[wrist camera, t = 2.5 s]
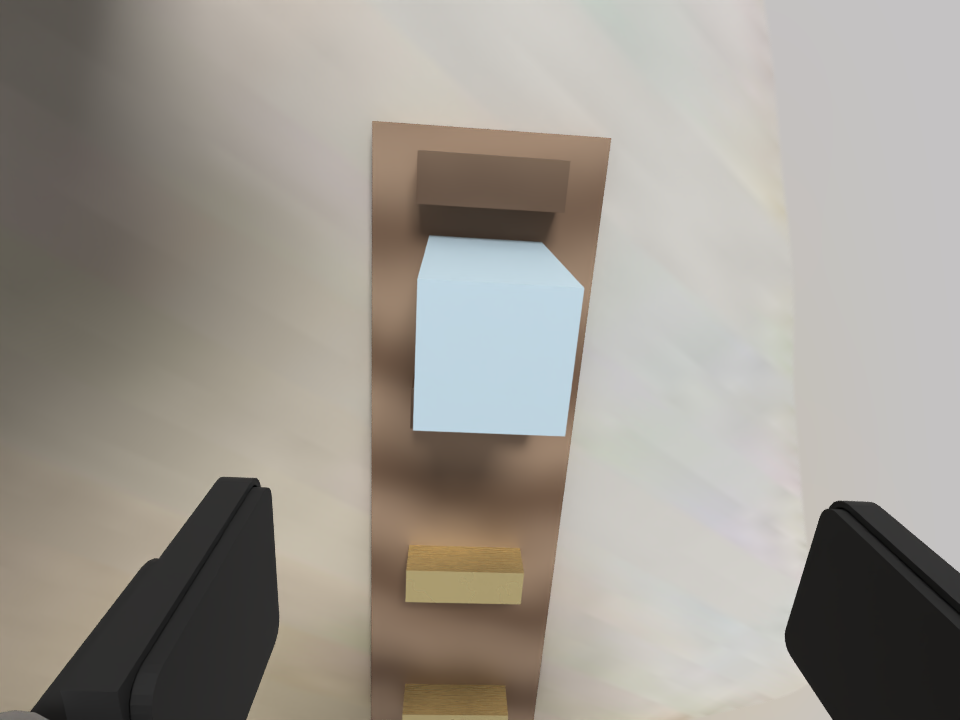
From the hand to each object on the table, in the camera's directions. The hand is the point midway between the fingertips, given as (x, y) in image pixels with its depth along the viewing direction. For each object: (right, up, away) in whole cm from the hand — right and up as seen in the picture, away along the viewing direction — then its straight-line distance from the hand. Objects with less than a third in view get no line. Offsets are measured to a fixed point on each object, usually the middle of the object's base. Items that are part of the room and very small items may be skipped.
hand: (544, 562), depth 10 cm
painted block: (-1, +7, +17) cm, 18 cm away
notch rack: (-2, -3, +21) cm, 21 cm away
